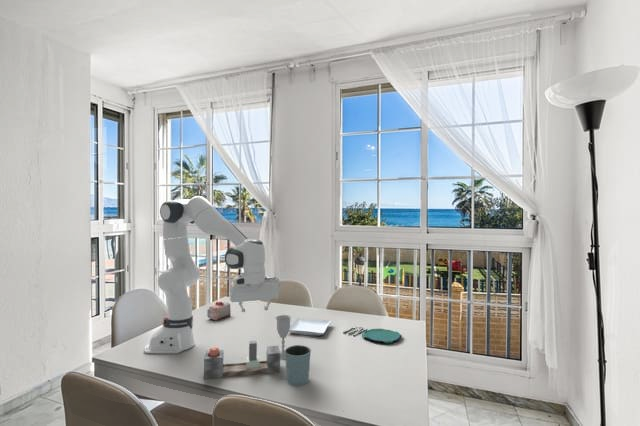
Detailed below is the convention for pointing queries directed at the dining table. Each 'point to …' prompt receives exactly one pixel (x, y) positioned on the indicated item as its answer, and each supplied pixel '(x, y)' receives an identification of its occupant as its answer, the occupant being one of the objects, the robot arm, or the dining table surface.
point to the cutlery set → (379, 335)
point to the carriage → (252, 356)
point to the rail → (240, 365)
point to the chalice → (283, 330)
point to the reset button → (214, 352)
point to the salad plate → (309, 326)
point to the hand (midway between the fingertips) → (254, 310)
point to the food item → (219, 311)
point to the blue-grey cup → (297, 364)
